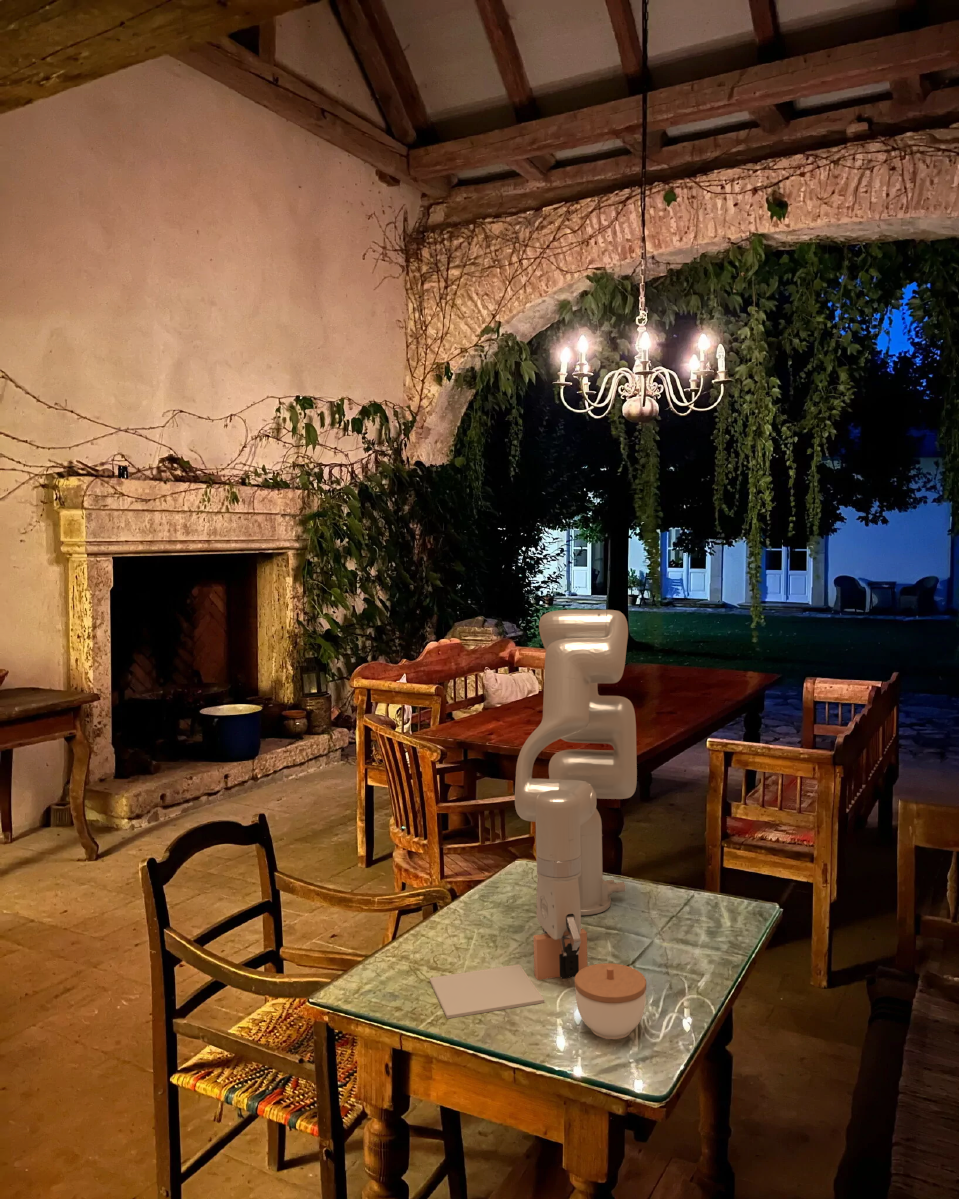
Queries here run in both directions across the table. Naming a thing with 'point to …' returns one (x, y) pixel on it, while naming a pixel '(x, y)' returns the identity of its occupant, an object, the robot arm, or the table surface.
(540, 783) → the robot arm
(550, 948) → the block
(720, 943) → the table surface
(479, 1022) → the table surface
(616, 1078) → the table surface
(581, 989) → the lidded jar
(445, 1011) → the mat
